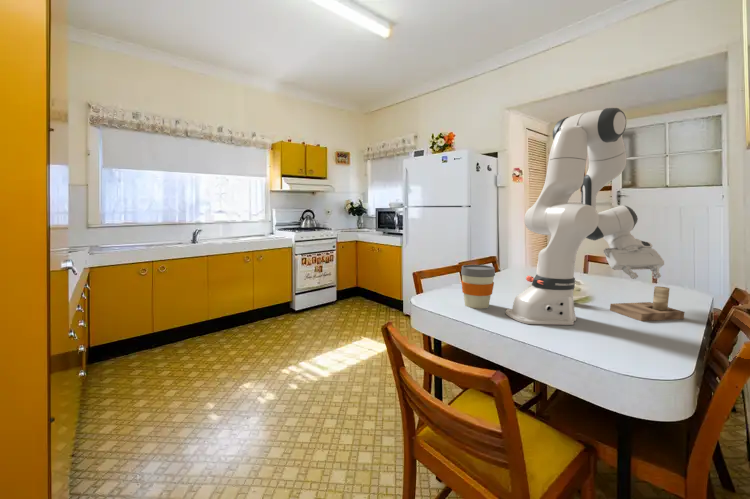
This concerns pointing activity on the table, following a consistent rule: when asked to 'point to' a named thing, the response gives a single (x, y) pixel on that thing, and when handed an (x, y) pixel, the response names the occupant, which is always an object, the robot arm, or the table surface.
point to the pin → (660, 298)
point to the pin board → (645, 311)
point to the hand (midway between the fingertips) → (646, 277)
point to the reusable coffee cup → (477, 285)
